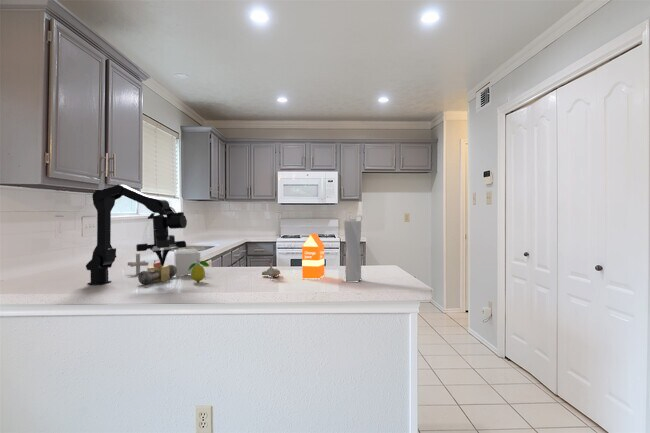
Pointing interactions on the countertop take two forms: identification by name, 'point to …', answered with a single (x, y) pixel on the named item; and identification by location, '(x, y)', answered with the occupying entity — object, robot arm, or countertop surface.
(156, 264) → the lever
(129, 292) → the countertop surface
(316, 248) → the orange juice
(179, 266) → the storage container
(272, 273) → the valve
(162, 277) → the valve body
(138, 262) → the pipe connector
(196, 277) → the lemon
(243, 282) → the countertop surface
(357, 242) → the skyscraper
